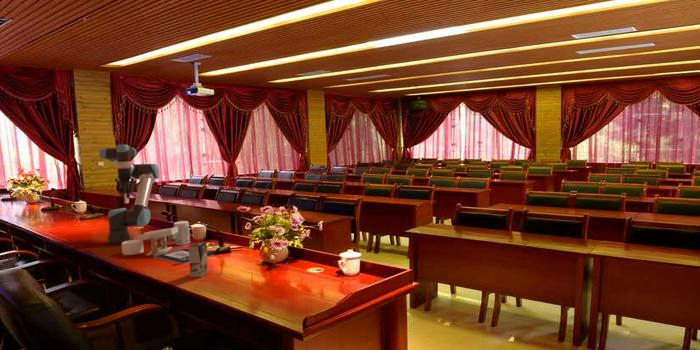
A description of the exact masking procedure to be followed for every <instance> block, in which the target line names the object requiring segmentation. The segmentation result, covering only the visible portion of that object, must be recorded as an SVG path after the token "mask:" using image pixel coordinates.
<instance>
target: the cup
mask: <svg viewBox="0 0 700 350" xmlns="http://www.w3.org/2000/svg"><path fill="white" fill-rule="evenodd" d="M121 251H122V252H121V253H122V255H123V256H133V255H138V254H141V253H144V251H145V250H144V240H140V241H138V239H131V240H129V241H125V242H122V243H121Z"/></svg>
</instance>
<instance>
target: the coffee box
mask: <svg viewBox="0 0 700 350" xmlns="http://www.w3.org/2000/svg"><path fill="white" fill-rule="evenodd" d="M207 248H208V247H207V241H204V242H203V241H201V242H193V243H192V244H190V245H189V246H188V249H189V263H188V264H189V276H190V278H203V277H204V276H205V275H206V274H207V273H208V272H209V266H208V265H209V263H208V257H207V253H208V250H207Z"/></svg>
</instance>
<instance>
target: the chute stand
mask: <svg viewBox="0 0 700 350" xmlns="http://www.w3.org/2000/svg"><path fill="white" fill-rule="evenodd" d="M150 244H151V246H150V247H151V250H150V251H149V252H147V253H146V254H145V255H146V256H147V257H149V256H154V255H157V254H158V255H159V254H161V253H163V254H164V253H166V252H170V251H171V250H172V249H173V247H172V246H168V244H167V236H163V237H162V238H160V247H158V240H157V237H156V238H151V239H150Z"/></svg>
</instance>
